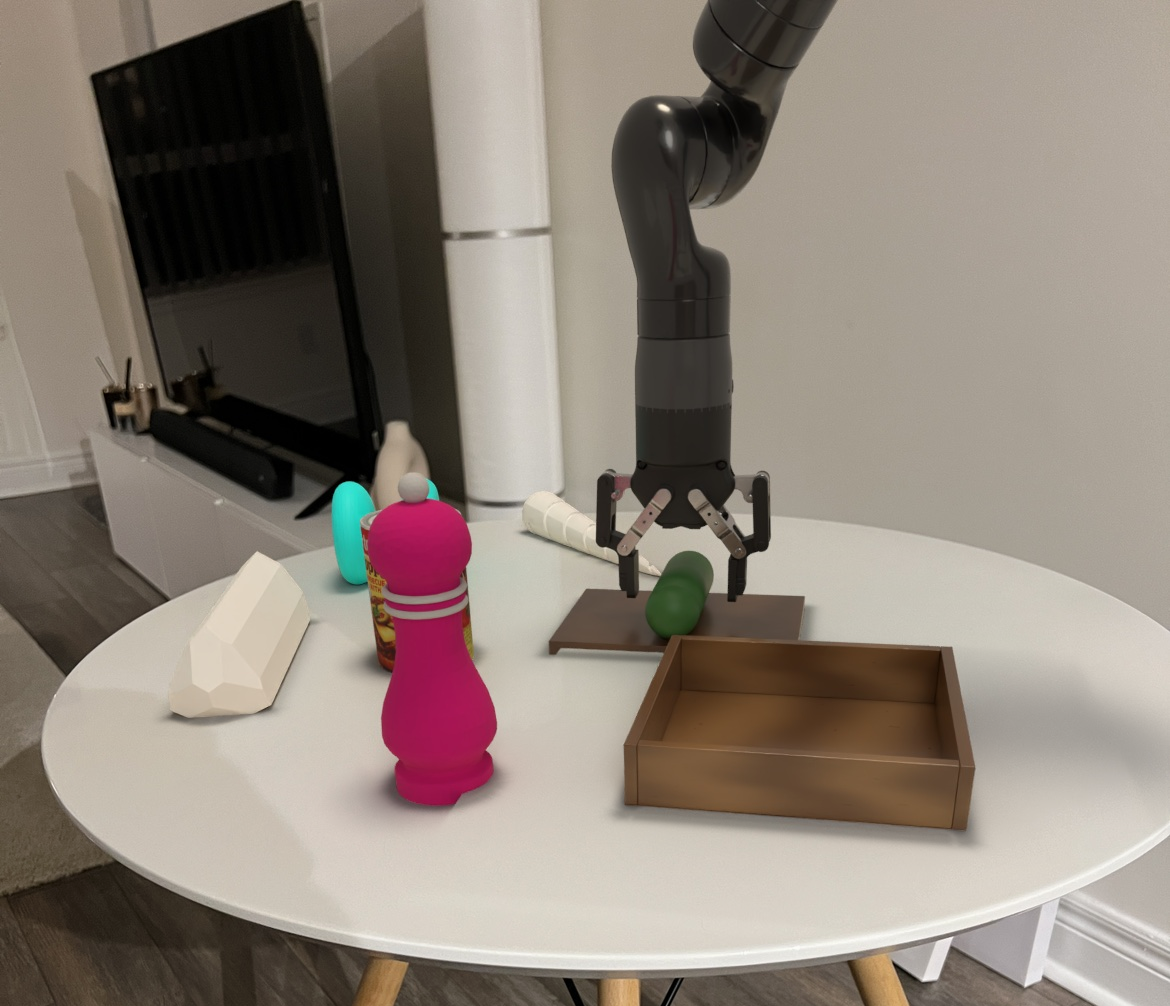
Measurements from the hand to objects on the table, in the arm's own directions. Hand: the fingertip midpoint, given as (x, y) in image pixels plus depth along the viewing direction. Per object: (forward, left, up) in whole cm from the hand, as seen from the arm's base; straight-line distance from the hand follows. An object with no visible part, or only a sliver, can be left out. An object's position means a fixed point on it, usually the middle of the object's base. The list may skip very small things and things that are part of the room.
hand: (682, 597), depth 93 cm
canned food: (+20, +9, -3) cm, 22 cm away
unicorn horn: (+13, -24, -3) cm, 27 cm away
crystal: (+34, +12, -3) cm, 37 cm away
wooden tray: (-11, +23, -3) cm, 26 cm away
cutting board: (0, 0, -3) cm, 3 cm away
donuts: (+31, -12, -3) cm, 33 cm away
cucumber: (0, 0, -2) cm, 2 cm away
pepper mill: (+11, +30, -3) cm, 32 cm away
